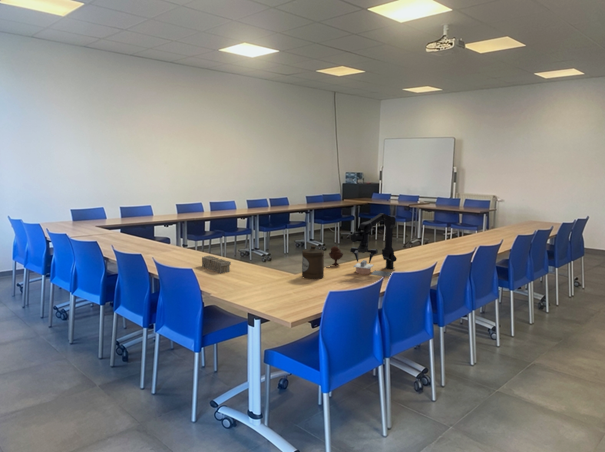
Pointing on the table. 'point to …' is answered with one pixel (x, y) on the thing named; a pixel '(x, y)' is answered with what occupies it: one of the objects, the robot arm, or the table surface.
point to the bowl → (362, 270)
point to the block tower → (216, 264)
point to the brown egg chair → (335, 254)
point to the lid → (363, 265)
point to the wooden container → (313, 263)
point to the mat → (381, 273)
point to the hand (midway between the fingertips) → (363, 262)
